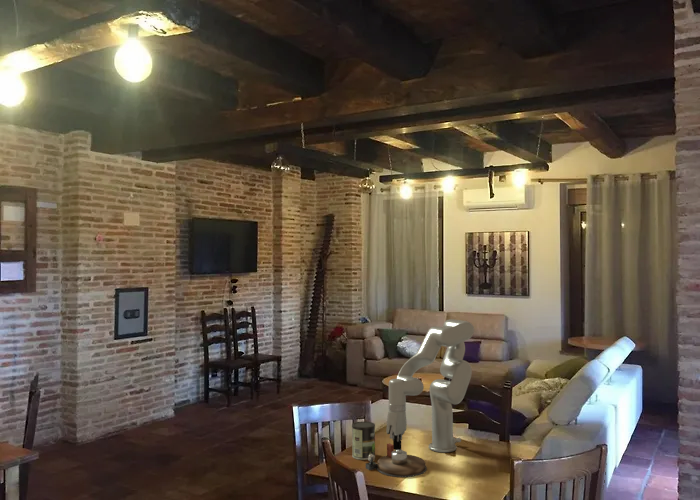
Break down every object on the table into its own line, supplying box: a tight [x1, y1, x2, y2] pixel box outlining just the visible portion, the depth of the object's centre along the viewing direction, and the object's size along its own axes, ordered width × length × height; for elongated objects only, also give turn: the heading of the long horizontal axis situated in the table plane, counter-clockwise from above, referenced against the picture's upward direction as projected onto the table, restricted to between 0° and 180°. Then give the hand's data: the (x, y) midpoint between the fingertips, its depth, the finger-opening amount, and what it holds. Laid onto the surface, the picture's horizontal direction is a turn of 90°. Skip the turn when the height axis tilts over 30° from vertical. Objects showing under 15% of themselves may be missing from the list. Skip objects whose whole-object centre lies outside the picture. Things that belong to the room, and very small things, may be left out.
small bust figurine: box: [365, 454, 378, 471], centre depth 244 cm, size 4×3×6 cm
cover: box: [391, 448, 408, 465], centre depth 244 cm, size 6×6×5 cm
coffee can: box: [351, 421, 376, 461], centre depth 259 cm, size 10×10×14 cm
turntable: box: [377, 443, 426, 476], centre depth 244 cm, size 20×20×7 cm
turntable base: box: [376, 463, 428, 478], centre depth 244 cm, size 21×21×1 cm
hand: (397, 449), depth 256 cm, fingers closed
